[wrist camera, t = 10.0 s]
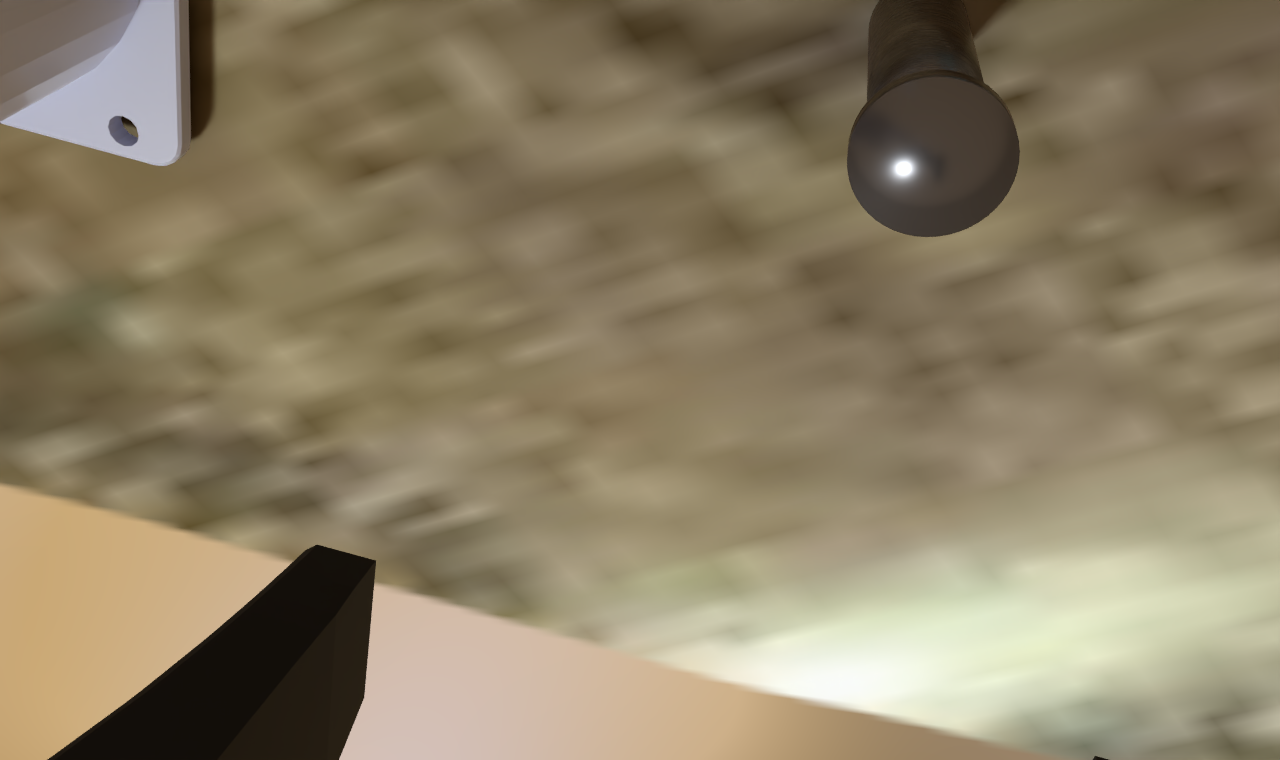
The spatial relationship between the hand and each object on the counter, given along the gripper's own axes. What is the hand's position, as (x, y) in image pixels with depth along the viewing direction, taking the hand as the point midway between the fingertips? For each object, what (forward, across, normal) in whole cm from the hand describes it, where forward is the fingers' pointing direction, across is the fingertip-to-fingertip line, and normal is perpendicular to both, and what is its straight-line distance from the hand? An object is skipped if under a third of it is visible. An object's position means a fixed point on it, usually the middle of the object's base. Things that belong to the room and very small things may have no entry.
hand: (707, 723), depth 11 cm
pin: (+9, -1, -5) cm, 11 cm away
